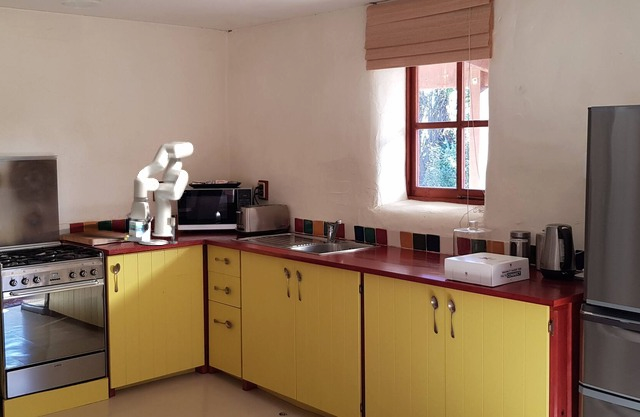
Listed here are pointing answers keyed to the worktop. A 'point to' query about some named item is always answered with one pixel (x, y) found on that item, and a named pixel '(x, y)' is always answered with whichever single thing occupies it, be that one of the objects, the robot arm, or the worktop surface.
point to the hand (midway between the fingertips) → (139, 229)
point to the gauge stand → (172, 223)
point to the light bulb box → (139, 229)
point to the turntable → (147, 242)
